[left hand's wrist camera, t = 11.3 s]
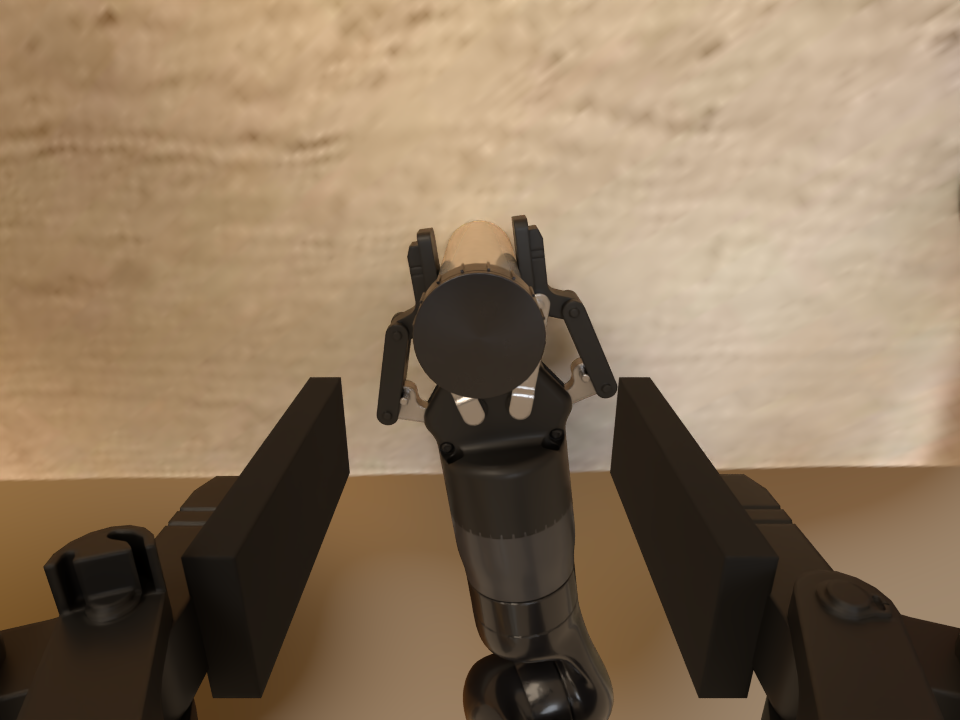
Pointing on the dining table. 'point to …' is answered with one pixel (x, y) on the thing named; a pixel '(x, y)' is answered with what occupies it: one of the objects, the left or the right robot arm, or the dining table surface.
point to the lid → (479, 331)
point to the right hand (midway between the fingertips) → (471, 225)
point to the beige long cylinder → (479, 247)
